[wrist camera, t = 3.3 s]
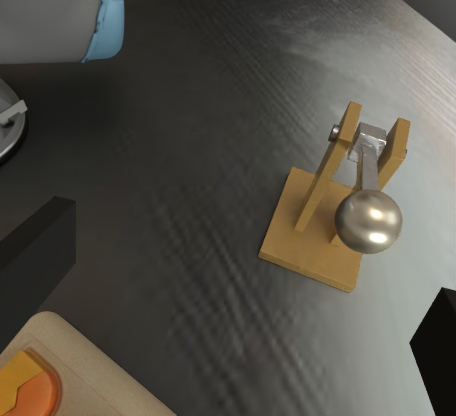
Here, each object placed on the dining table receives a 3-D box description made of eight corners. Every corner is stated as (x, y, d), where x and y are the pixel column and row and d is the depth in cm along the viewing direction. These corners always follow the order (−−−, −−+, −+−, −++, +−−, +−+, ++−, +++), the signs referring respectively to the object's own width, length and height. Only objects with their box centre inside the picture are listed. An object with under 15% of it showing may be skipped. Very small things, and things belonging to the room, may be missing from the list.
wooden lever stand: (349, 293, 40) (433, 212, 27) (257, 257, 41) (293, 162, 28) (369, 202, 46) (445, 101, 33) (289, 173, 47) (331, 64, 34)
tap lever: (385, 276, 21) (419, 225, 19) (321, 252, 22) (348, 199, 20) (377, 164, 34) (397, 126, 32) (337, 150, 34) (354, 111, 32)
